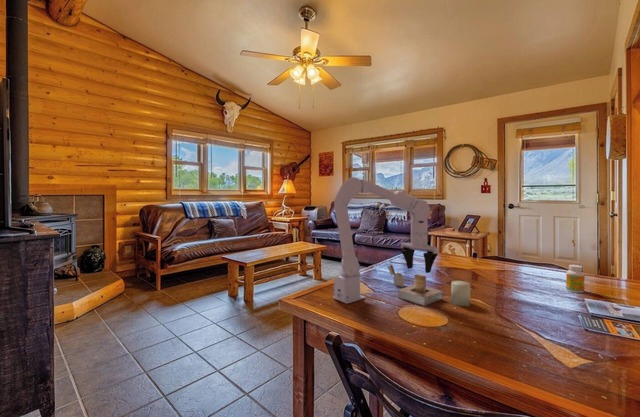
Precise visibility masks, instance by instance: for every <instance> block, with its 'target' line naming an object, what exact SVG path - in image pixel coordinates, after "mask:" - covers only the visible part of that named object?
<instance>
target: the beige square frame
mask: <svg viewBox="0 0 640 417" xmlns="http://www.w3.org/2000/svg"><path fill="white" fill-rule="evenodd" d="M397 298H398V299H400V300H403V301H407V302H410V303H412V304H416V305H417V306H418V305H419V306H422V307H426V306H429V305H431V304H434V303H437V302H439V301H442V300H443V290H439V289H437V288H432V287H428V286H426V293H423V294H421V293H417V292H414V284H413V285H409V286H406V287H405V286H404V287H401V288H399V289H398V290H397Z"/></svg>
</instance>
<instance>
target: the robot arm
mask: <svg viewBox="0 0 640 417" xmlns="http://www.w3.org/2000/svg"><path fill="white" fill-rule="evenodd" d="M360 193H361V194H363V193H364V194H367V193H371V194H373V195H375V196H378V197H381V198H383V199H386V200H389V202H390V203H391V205H392V207H393V206H394V207H396V208H398V209H400V210H403V211H405V212H409V213H410V217H411V218H410V242H401V243H400V249H401V250H400V251H401V254H402V255H403V258H404V259H405V264H406V267H407V269H409V270H410V269H413V265H414V254H415V251H420V252H421V251H422V252H424V253H423V254H422V255H423V258H424V268H425V269H424V271H425V274H429V273H431V272H432V267H433V264H434V262H435V260H436V258H437V257H438V255H439V253H440V250H439V248H440V247H437V246H433V245H429V244H428V215H429V213H430V212H431V207H430V205H429V203H428V202H427V201H426V200H423V199H418V198H419V197H418V196H416V195H414V196H413V195H410V194H408V193H406V191H405V190H401V191H400V190H396V191H394V192H393V191H391V190H389V189H387V188H385V187H383V186H380V185H378V184H375V183H374V182H371V181H368V180H364V179H361V178H360V179H359V178H358V177H355V176H353V177H352V176H351V177H349V178H347V179H346V180H345V181H344V182H343V183H342V184H341V186H340V187H339V190H338V191H337V194H336V195H335V197H334V201H333V204H334V212H335V215H336V216H335V217H336V223H337V230H338V236H339V241H340V246H341V247H340V248H341V253H342V254H341V255H342V258H341V269H342V270H341V271H340V275H339V276H337V277H335V278H334V280H333V296H332V299H334V300H337V301H339V302H342V303H344V304H346V305H347V304H351V303H353V302H358V301H360V300H364V299H366V296H364V295H361V272H360V269H361V264H360V263H359V259H358V258H357V256H356V253H355V247H354V242H353V241H354V240H353V236H352V229H351V224H350V217H349V212H348V211H349V209H348V204H349V203H350V202H351V201H352V200H353V198H354V197H356V196H357V195H359V194H360Z"/></svg>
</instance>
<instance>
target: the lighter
mask: <svg viewBox="0 0 640 417" xmlns="http://www.w3.org/2000/svg"><path fill="white" fill-rule="evenodd" d="M387 269H388V271H389V275H390V276H393V286H397V287H401V288H404V287H405V275H403V274H402V272H398V271H397V272H396V271H395V268H394V265H393V264H388V265H387Z"/></svg>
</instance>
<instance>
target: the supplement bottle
mask: <svg viewBox="0 0 640 417" xmlns="http://www.w3.org/2000/svg"><path fill="white" fill-rule="evenodd" d="M565 276H566V277H565V279H566V280H565V290H566V291H568V292H572V293H576V294H577V293H580V294H581V293H584V292H585V277H586V276H585V272H583V266H582V265H577V264H569V265H568V270H567V271H566V275H565Z"/></svg>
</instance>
